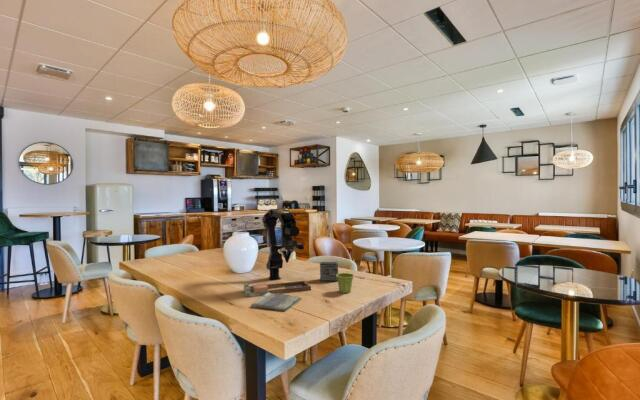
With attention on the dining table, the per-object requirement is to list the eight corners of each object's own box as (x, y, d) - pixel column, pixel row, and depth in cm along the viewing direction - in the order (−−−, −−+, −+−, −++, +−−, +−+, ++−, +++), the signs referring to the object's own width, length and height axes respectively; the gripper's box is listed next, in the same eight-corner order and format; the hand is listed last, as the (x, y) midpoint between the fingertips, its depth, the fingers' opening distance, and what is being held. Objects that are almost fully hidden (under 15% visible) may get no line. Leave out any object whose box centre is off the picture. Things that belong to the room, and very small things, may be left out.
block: (252, 292, 168) (252, 284, 168) (265, 290, 170) (265, 283, 170) (254, 296, 161) (254, 288, 161) (268, 294, 164) (268, 286, 164)
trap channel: (243, 290, 170) (243, 283, 170) (304, 284, 181) (304, 277, 181) (246, 297, 159) (246, 289, 159) (311, 290, 170) (310, 282, 170)
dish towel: (285, 313, 138) (285, 306, 138) (250, 308, 144) (249, 301, 144) (302, 300, 155) (302, 293, 155) (270, 296, 162) (270, 290, 162)
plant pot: (356, 290, 169) (356, 273, 168) (350, 295, 160) (350, 278, 160) (340, 288, 172) (340, 272, 172) (333, 293, 164) (333, 276, 164)
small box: (338, 279, 192) (338, 261, 192) (338, 281, 185) (337, 264, 185) (321, 278, 193) (320, 261, 193) (320, 281, 186) (319, 263, 186)
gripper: (272, 237, 168) (273, 266, 168) (306, 235, 174) (306, 264, 174) (269, 235, 178) (269, 262, 179) (301, 233, 184) (301, 260, 184)
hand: (287, 262), depth 179 cm, fingers closed
